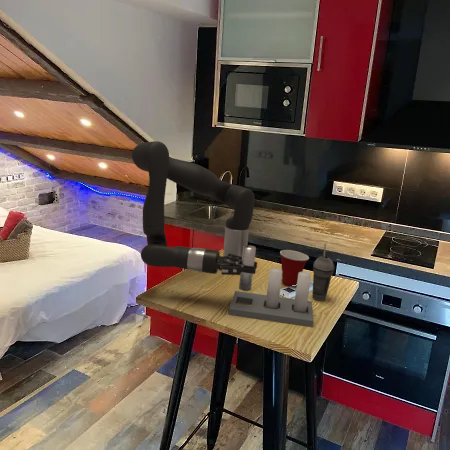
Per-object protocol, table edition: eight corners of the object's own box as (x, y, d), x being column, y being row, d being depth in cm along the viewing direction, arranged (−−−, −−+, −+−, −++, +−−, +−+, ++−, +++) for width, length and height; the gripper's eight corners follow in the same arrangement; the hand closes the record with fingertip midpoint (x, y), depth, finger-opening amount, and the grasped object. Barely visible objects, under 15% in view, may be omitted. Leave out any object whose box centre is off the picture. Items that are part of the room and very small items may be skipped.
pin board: (234, 296, 148) (238, 257, 144) (311, 307, 145) (316, 268, 141) (228, 314, 135) (232, 272, 131) (312, 326, 131) (318, 284, 128)
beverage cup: (314, 303, 148) (322, 248, 142) (304, 294, 154) (312, 241, 149) (333, 302, 150) (341, 248, 144) (323, 293, 156) (331, 241, 151)
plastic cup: (310, 288, 160) (315, 258, 157) (285, 290, 156) (289, 259, 153) (295, 277, 170) (299, 248, 166) (271, 279, 166) (274, 249, 162)
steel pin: (239, 285, 141) (244, 244, 138) (251, 286, 141) (256, 246, 137) (238, 289, 137) (242, 248, 134) (250, 291, 137) (255, 250, 133)
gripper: (199, 256, 131) (255, 264, 129) (208, 243, 145) (259, 249, 143) (197, 279, 133) (252, 287, 131) (206, 264, 147) (256, 271, 144)
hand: (256, 267), depth 137 cm, fingers closed on steel pin, 4 cm apart
